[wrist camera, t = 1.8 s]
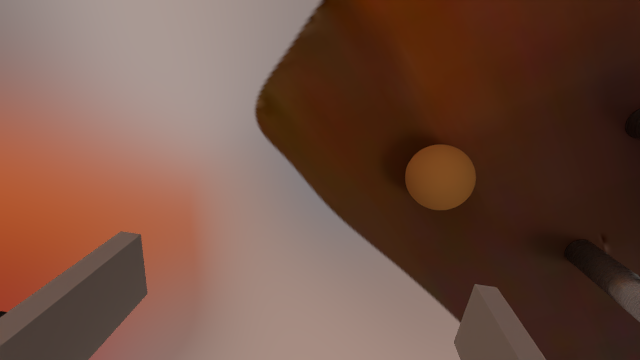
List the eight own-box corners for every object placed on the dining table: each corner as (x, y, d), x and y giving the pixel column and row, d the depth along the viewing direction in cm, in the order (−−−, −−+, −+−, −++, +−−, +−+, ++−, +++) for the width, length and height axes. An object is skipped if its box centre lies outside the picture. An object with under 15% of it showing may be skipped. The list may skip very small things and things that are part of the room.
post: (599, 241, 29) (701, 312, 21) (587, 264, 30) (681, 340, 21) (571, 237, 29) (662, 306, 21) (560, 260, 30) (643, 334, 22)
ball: (469, 142, 27) (498, 159, 22) (452, 198, 29) (475, 226, 24) (407, 134, 27) (421, 149, 22) (394, 190, 29) (404, 216, 24)
